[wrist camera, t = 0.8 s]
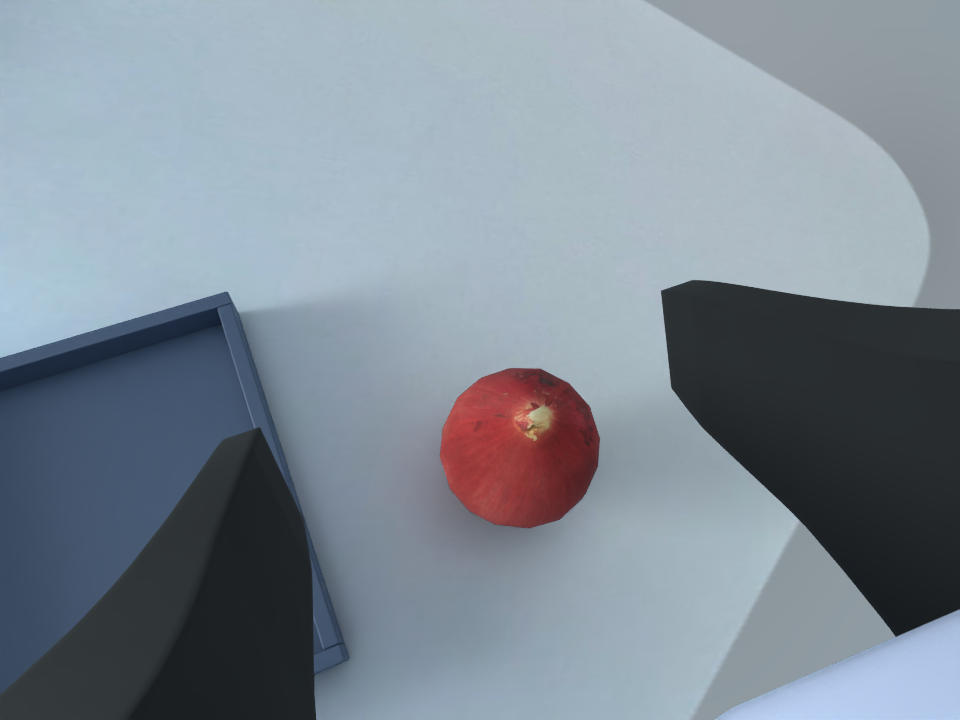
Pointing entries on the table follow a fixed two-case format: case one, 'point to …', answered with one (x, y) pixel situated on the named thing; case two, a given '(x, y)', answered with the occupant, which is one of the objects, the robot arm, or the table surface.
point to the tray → (118, 463)
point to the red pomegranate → (520, 448)
